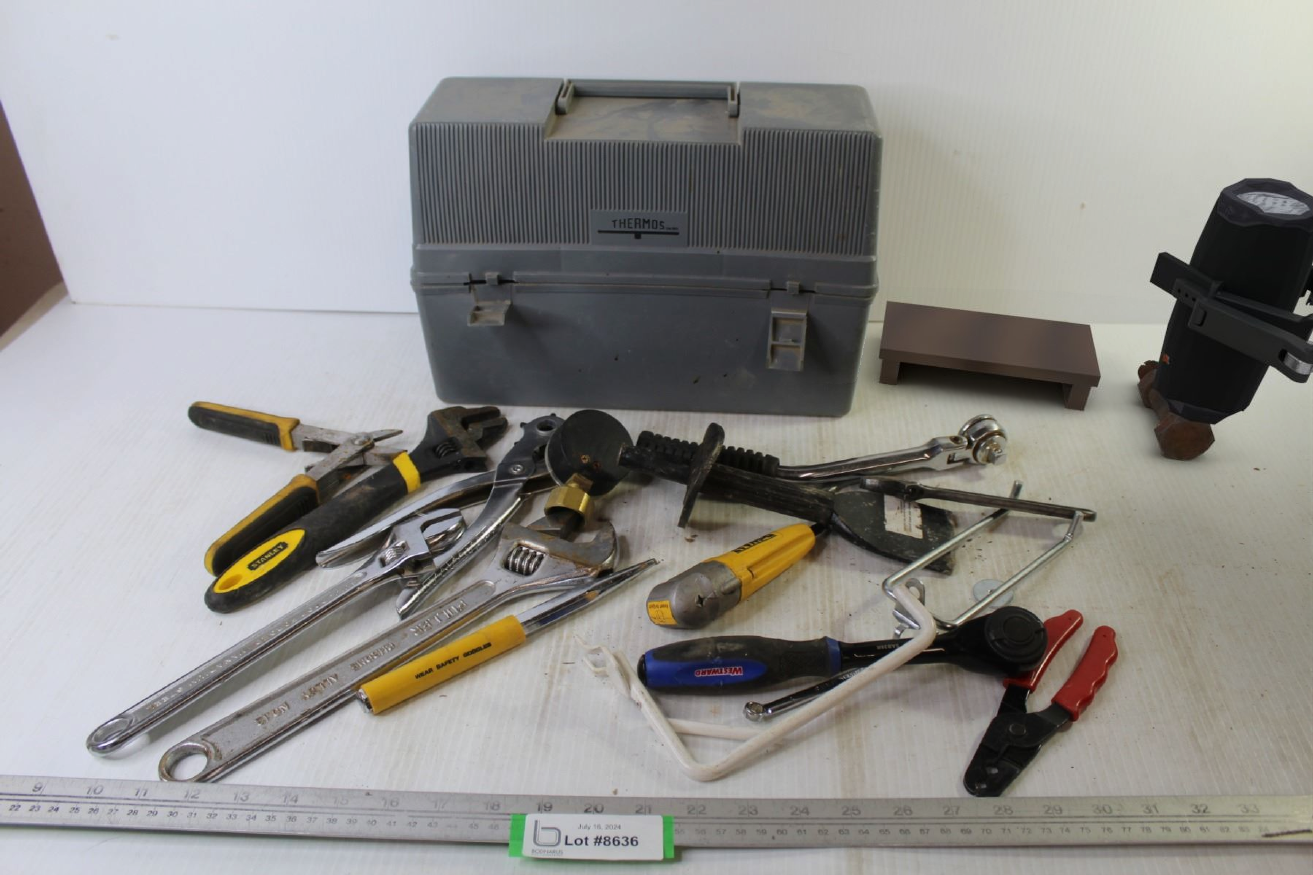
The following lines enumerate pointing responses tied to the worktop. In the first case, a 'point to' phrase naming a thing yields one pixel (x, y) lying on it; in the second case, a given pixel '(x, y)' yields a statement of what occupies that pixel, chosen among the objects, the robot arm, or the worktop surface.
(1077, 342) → the shelf
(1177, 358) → the portable speaker
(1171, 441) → the bolt
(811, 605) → the worktop surface
